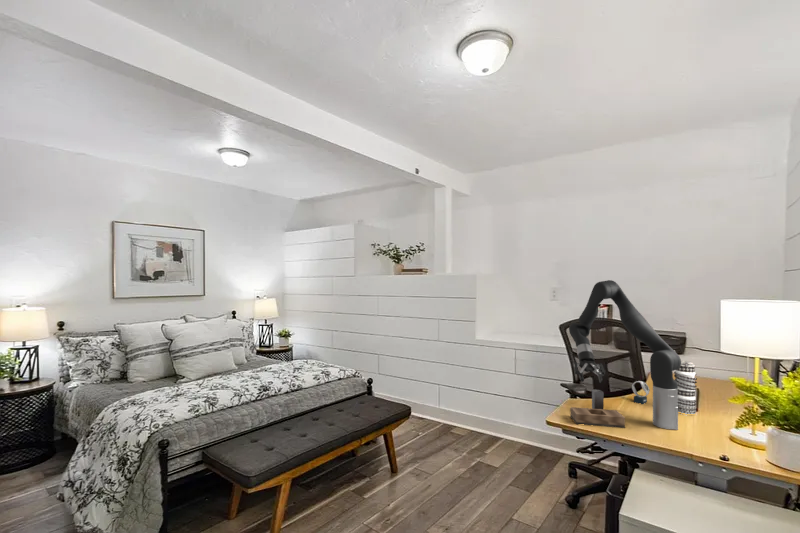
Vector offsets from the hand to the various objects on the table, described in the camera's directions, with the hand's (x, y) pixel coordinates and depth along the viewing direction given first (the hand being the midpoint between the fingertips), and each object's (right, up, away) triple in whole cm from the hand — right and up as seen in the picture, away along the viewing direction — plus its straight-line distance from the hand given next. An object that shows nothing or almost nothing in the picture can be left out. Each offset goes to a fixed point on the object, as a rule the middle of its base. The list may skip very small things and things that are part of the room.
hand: (591, 381), depth 201 cm
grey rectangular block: (-2, -13, -9) cm, 16 cm away
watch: (+31, -15, +11) cm, 36 cm away
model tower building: (+44, -14, -5) cm, 46 cm away
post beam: (-8, -12, -21) cm, 26 cm away
